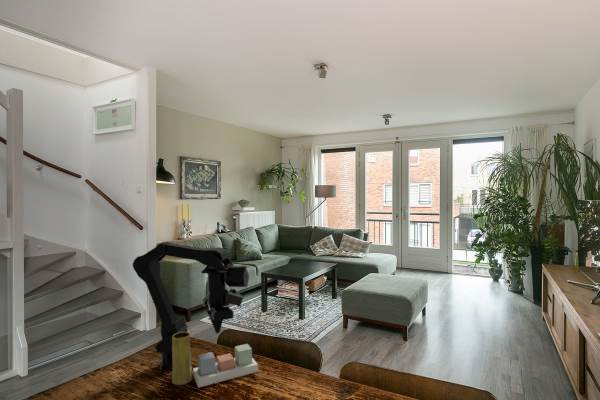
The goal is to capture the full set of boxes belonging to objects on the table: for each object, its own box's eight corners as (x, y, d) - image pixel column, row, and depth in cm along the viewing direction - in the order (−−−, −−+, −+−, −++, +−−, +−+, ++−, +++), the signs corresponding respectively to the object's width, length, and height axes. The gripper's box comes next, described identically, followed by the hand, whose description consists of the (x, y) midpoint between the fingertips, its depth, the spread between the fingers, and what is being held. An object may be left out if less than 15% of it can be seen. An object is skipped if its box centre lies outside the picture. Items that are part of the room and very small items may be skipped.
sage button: (235, 361, 116) (234, 346, 116) (247, 358, 118) (247, 343, 118) (239, 367, 112) (238, 351, 112) (252, 363, 114) (251, 348, 114)
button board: (193, 375, 112) (193, 368, 112) (249, 361, 120) (249, 354, 120) (198, 387, 105) (198, 379, 105) (258, 371, 113) (257, 364, 113)
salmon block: (217, 371, 113) (216, 356, 113) (230, 368, 116) (230, 353, 115) (220, 377, 110) (220, 361, 110) (234, 374, 112) (234, 358, 112)
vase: (186, 386, 106) (184, 339, 105) (167, 384, 107) (166, 338, 107) (196, 376, 112) (194, 331, 111) (178, 374, 113) (177, 330, 113)
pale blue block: (198, 370, 111) (197, 355, 111) (212, 367, 113) (211, 351, 113) (201, 376, 107) (200, 360, 107) (215, 373, 109) (215, 357, 109)
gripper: (248, 289, 111) (249, 338, 112) (233, 277, 128) (233, 319, 128) (213, 294, 106) (214, 345, 107) (202, 281, 123) (202, 325, 123)
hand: (217, 332), depth 116 cm, fingers closed
